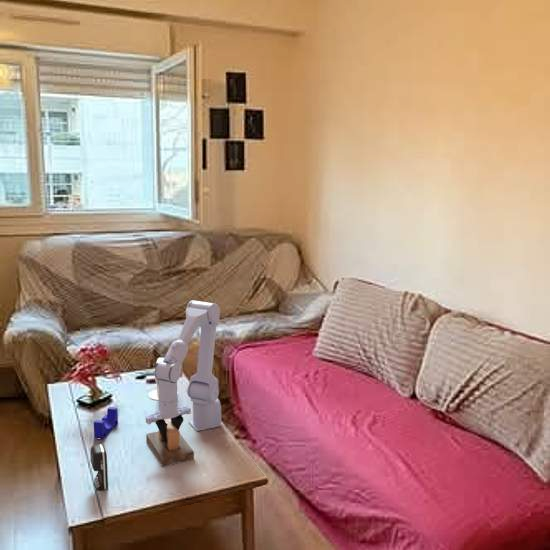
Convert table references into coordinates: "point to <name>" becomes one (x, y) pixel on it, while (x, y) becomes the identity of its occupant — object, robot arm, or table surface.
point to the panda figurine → (155, 393)
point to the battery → (99, 466)
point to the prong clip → (171, 436)
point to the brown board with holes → (163, 452)
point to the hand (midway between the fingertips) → (169, 439)
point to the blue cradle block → (106, 423)
